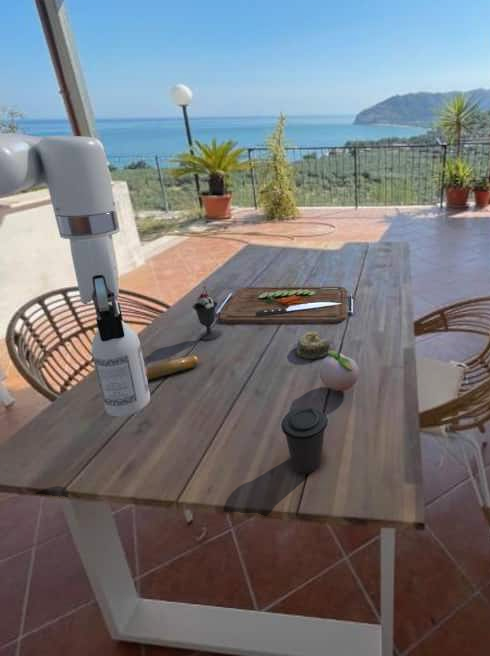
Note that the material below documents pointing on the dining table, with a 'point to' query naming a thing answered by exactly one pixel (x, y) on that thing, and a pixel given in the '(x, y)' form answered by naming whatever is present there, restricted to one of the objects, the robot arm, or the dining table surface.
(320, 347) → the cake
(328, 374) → the decorative fruit
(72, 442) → the dining table surface
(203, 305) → the sundae
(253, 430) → the dining table surface
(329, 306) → the chopping board
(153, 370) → the breadstick
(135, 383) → the bath foam
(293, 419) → the coffee cup
